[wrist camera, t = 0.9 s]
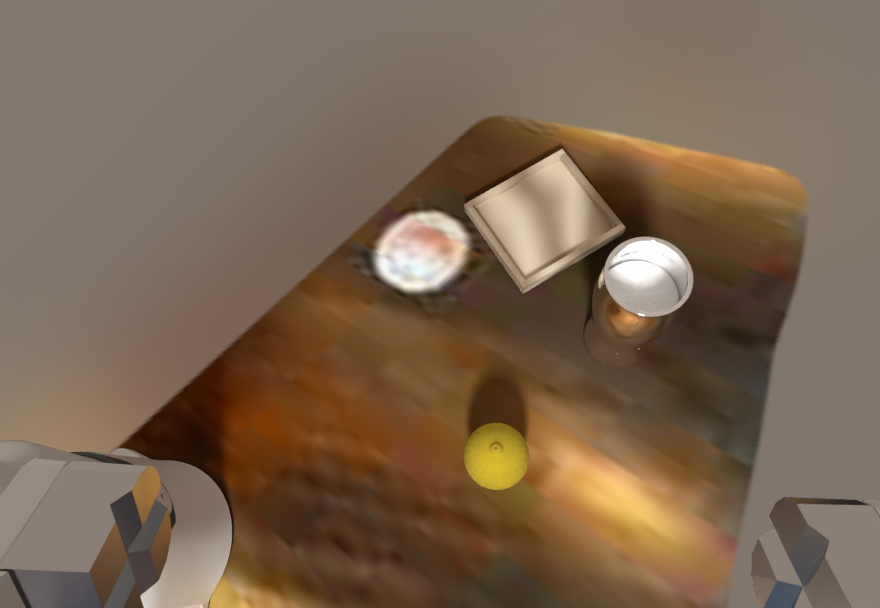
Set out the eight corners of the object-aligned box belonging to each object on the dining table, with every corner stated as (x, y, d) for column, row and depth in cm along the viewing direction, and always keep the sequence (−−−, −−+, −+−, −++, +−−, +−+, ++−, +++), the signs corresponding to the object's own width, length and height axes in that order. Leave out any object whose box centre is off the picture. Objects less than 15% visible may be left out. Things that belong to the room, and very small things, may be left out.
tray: (522, 293, 67) (523, 288, 66) (464, 211, 71) (464, 204, 69) (623, 234, 69) (625, 227, 67) (560, 156, 72) (562, 148, 71)
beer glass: (564, 328, 66) (582, 264, 52) (622, 290, 66) (655, 217, 52) (608, 387, 63) (640, 336, 49) (668, 347, 64) (716, 287, 50)
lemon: (515, 424, 63) (518, 405, 55) (535, 483, 61) (540, 472, 53) (458, 442, 62) (453, 425, 55) (476, 502, 60) (473, 493, 53)
